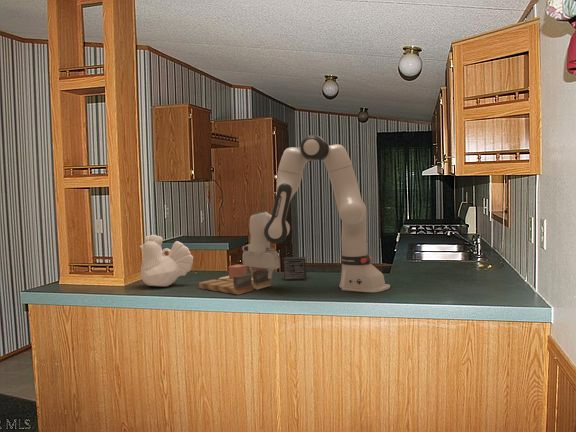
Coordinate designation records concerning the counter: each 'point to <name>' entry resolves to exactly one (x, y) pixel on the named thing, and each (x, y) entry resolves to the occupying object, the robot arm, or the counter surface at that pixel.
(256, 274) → the birch strip
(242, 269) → the brick block
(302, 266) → the small box
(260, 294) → the counter surface
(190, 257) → the decorative rooster
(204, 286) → the oak strip
